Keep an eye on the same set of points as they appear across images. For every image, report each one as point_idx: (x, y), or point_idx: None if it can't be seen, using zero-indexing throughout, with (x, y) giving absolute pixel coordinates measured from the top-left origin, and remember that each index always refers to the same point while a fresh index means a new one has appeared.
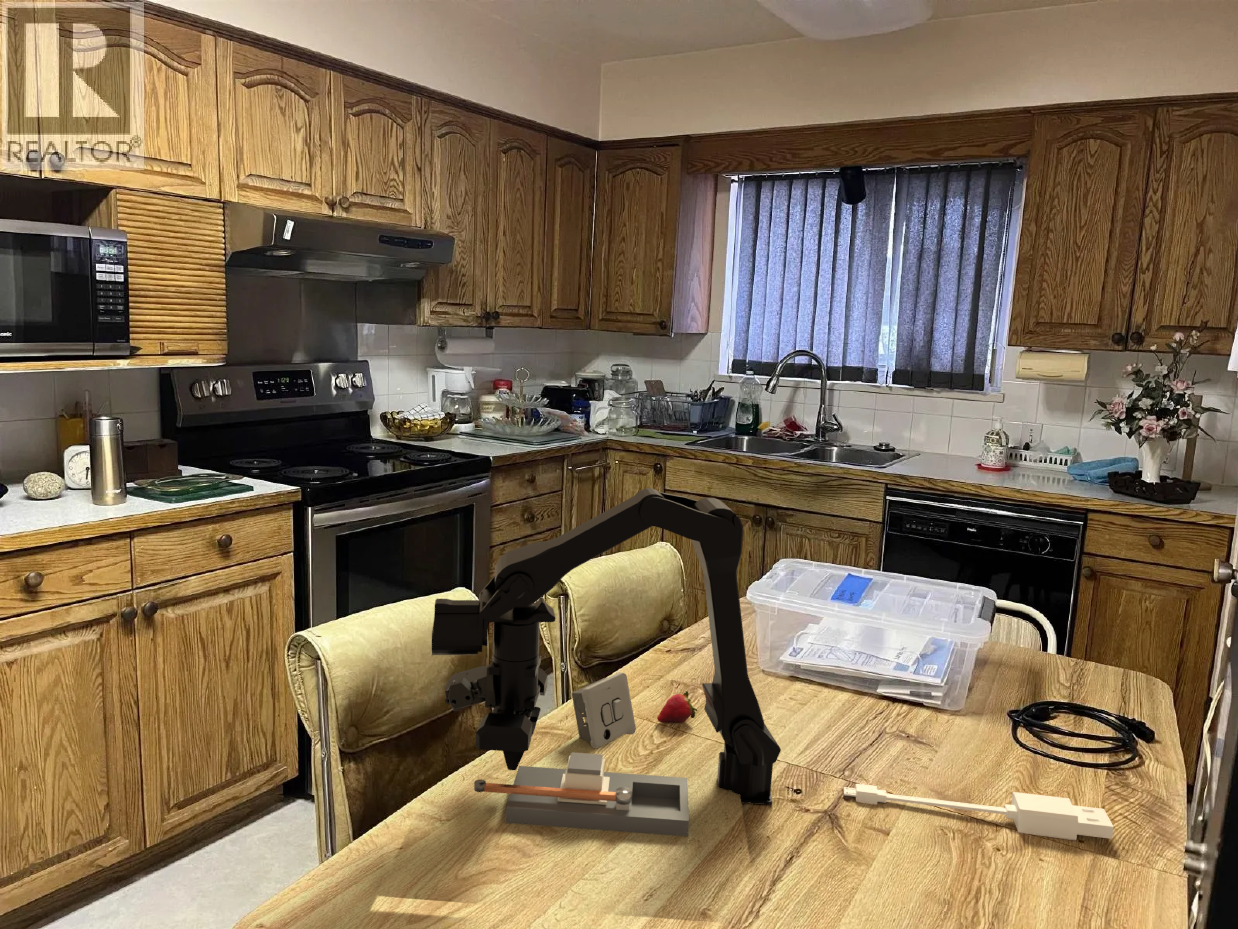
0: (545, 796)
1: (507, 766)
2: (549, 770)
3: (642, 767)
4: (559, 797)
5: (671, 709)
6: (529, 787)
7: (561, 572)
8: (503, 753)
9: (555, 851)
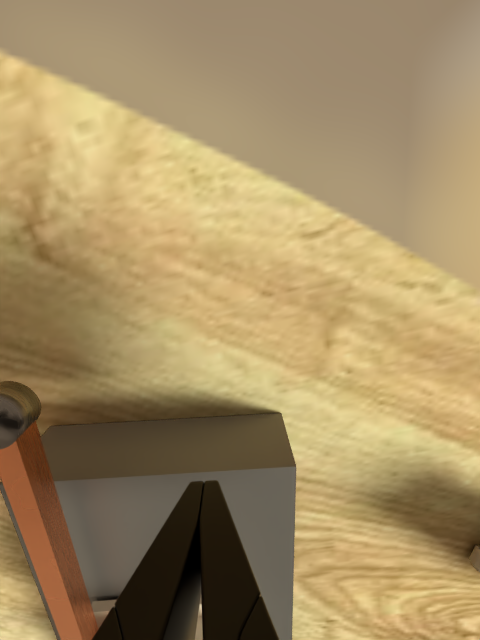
0: (112, 569)
1: (181, 496)
2: (278, 551)
3: (400, 628)
4: (95, 616)
5: None
6: (52, 586)
7: None
8: (135, 570)
9: (12, 538)
